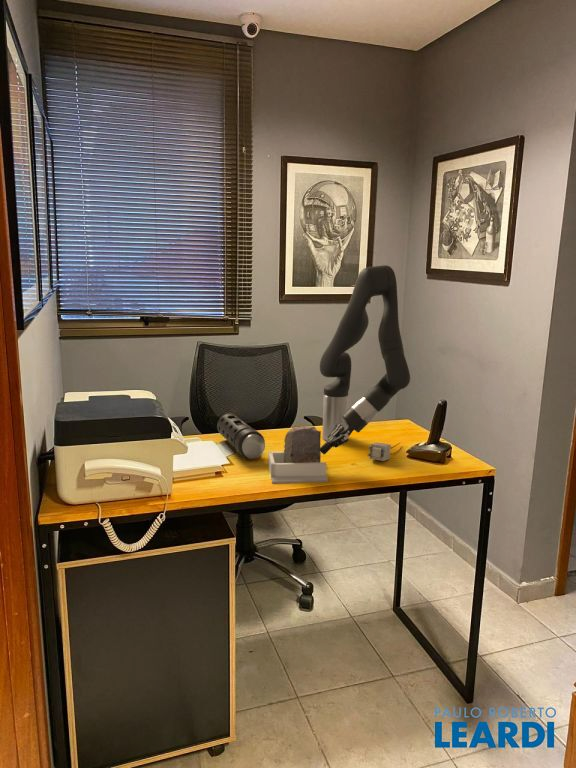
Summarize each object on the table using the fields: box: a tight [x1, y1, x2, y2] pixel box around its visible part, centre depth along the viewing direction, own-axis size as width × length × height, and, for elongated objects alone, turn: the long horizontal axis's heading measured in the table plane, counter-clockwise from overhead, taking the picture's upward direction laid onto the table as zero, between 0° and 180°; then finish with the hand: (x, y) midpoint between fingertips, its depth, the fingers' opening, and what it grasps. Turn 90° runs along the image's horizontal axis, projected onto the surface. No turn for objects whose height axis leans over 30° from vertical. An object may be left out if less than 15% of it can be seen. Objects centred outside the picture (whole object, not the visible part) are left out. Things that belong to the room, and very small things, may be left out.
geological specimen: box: [283, 425, 322, 463], centre depth 182 cm, size 11×6×15 cm, turn 117°
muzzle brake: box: [216, 413, 266, 460], centre depth 202 cm, size 10×28×10 cm, turn 23°
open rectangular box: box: [267, 451, 329, 484], centre depth 181 cm, size 16×17×4 cm
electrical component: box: [367, 442, 403, 462], centre depth 202 cm, size 24×6×5 cm, turn 153°
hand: (321, 452), depth 183 cm, fingers closed
